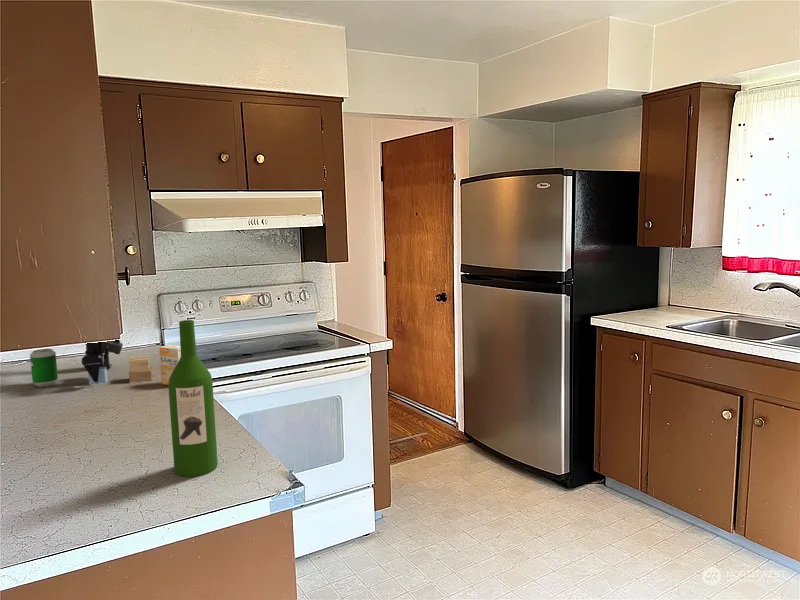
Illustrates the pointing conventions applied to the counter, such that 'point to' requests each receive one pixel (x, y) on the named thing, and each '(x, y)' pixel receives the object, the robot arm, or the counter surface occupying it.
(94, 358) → the robot arm
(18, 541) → the counter surface
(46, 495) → the counter surface
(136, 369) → the oak block
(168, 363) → the supplement box
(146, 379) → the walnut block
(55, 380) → the soda can
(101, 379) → the blue cube
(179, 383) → the wine bottle
